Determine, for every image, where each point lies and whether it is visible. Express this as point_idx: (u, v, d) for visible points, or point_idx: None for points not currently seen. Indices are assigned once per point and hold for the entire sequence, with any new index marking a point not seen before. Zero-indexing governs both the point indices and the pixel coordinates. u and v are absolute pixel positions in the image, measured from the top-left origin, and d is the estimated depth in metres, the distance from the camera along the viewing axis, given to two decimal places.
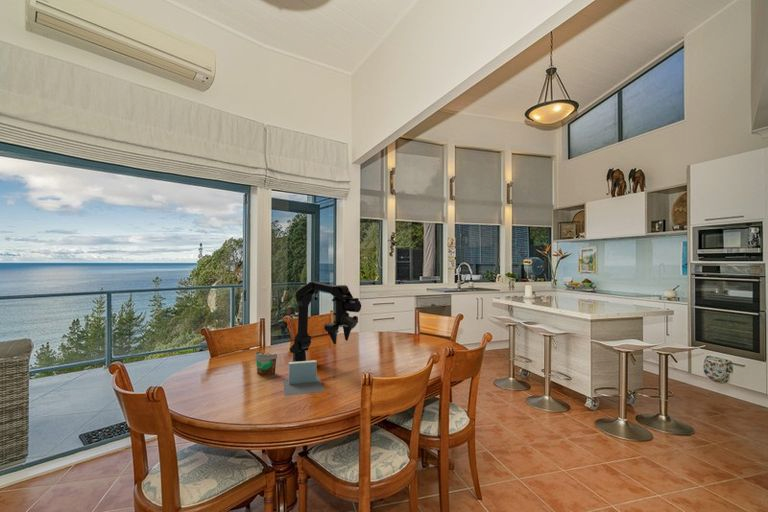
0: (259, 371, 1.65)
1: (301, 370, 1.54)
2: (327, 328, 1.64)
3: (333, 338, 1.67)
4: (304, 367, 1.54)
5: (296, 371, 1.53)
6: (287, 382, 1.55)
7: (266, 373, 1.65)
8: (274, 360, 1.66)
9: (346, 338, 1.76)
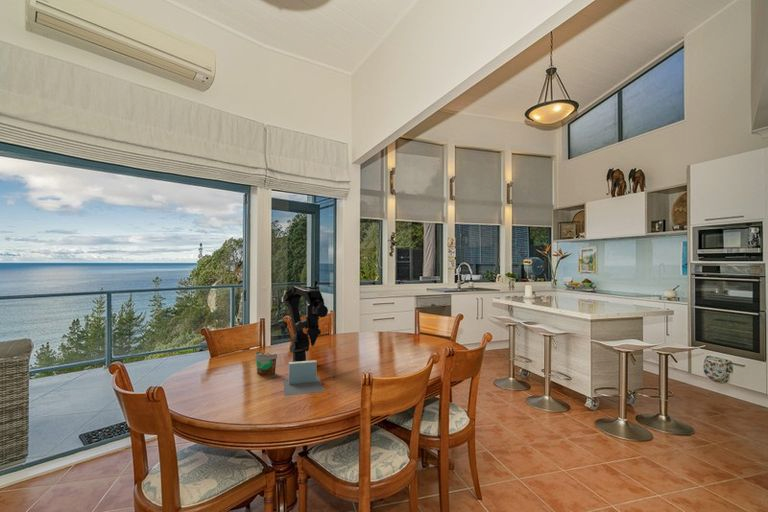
0: (259, 371, 1.65)
1: (301, 370, 1.54)
2: None
3: None
4: (304, 367, 1.54)
5: (296, 371, 1.53)
6: (287, 382, 1.55)
7: (266, 373, 1.65)
8: (274, 360, 1.66)
9: None
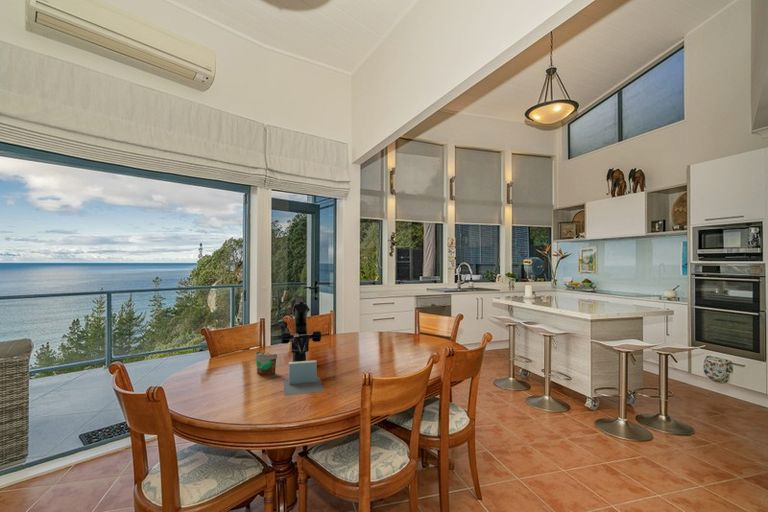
0: (259, 371, 1.65)
1: (301, 370, 1.54)
2: (320, 335, 1.70)
3: (304, 347, 1.65)
4: (304, 367, 1.54)
5: (296, 371, 1.53)
6: (287, 382, 1.55)
7: (266, 373, 1.65)
8: (274, 360, 1.66)
9: None
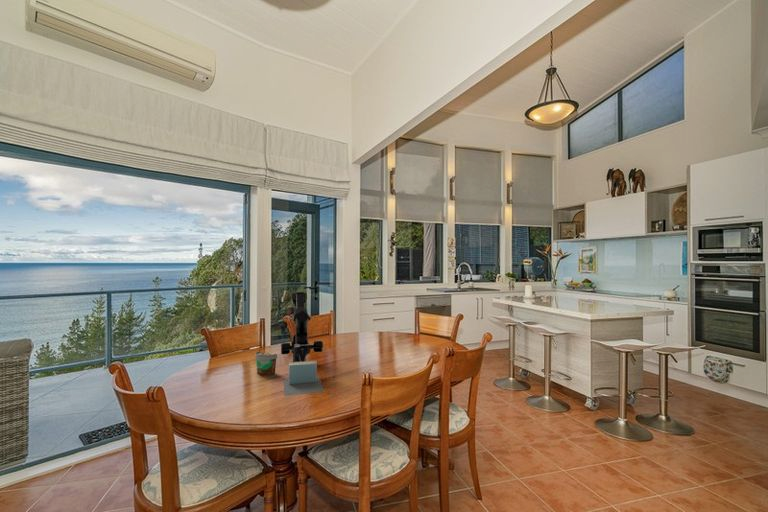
0: (259, 371, 1.65)
1: (301, 371, 1.53)
2: None
3: (305, 357, 1.58)
4: (304, 368, 1.53)
5: (296, 372, 1.52)
6: (287, 382, 1.55)
7: (266, 373, 1.65)
8: (274, 360, 1.66)
9: (302, 361, 1.56)
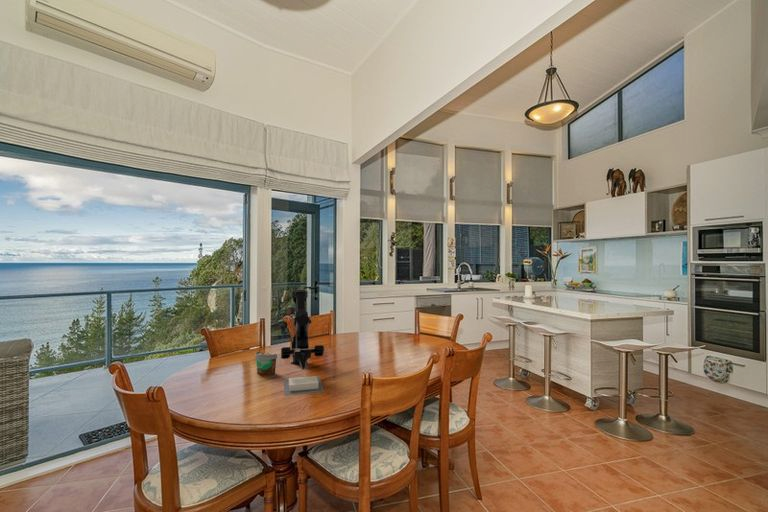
0: (259, 371, 1.65)
1: None
2: (323, 350, 1.59)
3: (305, 362, 1.54)
4: None
5: None
6: (287, 382, 1.55)
7: (266, 373, 1.65)
8: (274, 360, 1.66)
9: None
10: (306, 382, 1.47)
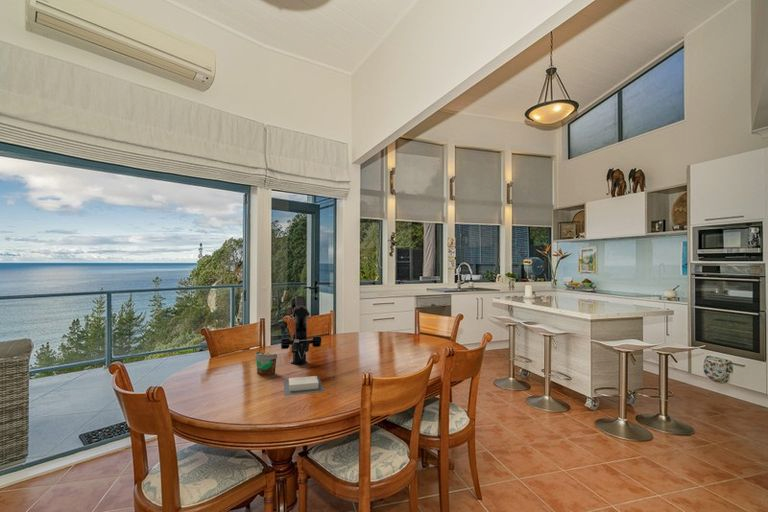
0: (259, 371, 1.65)
1: None
2: None
3: (304, 352, 1.64)
4: None
5: None
6: (287, 382, 1.55)
7: (266, 373, 1.65)
8: (274, 360, 1.66)
9: None
10: (306, 382, 1.47)
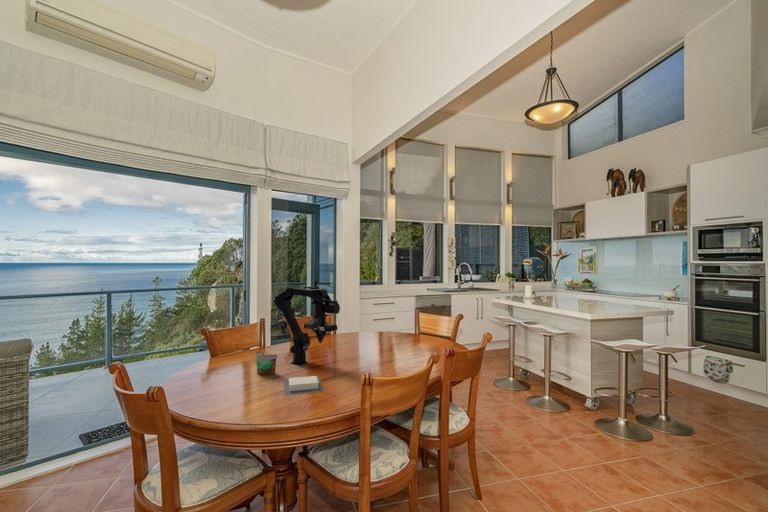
0: (259, 371, 1.65)
1: None
2: None
3: None
4: None
5: None
6: (287, 382, 1.55)
7: (266, 373, 1.65)
8: (274, 360, 1.66)
9: None
10: (306, 382, 1.47)
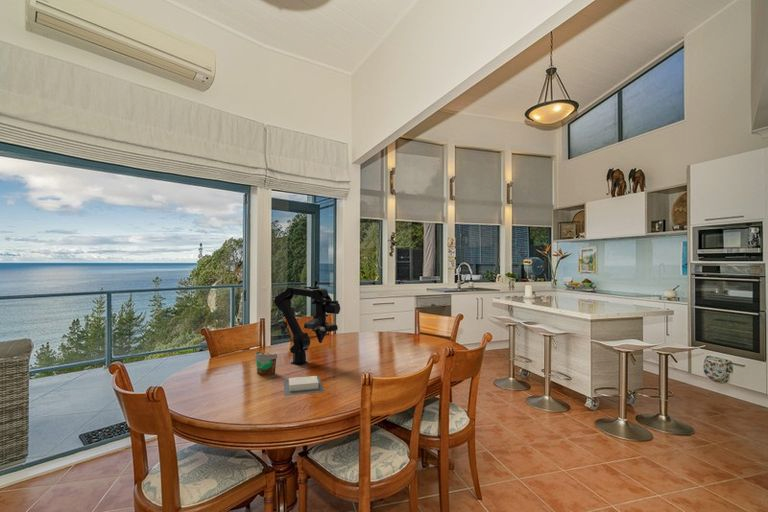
0: (259, 371, 1.65)
1: None
2: None
3: None
4: None
5: None
6: (287, 382, 1.55)
7: (266, 373, 1.65)
8: (274, 360, 1.66)
9: None
10: (306, 382, 1.47)
